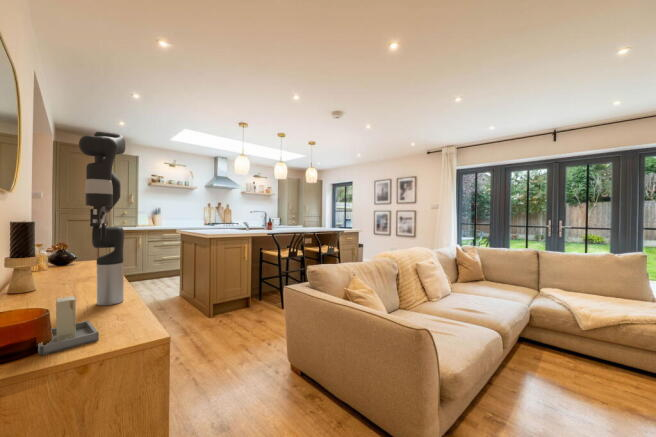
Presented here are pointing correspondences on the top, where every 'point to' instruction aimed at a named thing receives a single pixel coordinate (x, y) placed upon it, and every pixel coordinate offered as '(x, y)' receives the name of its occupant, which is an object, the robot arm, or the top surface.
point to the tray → (83, 336)
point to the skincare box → (65, 318)
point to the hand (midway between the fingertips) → (99, 238)
